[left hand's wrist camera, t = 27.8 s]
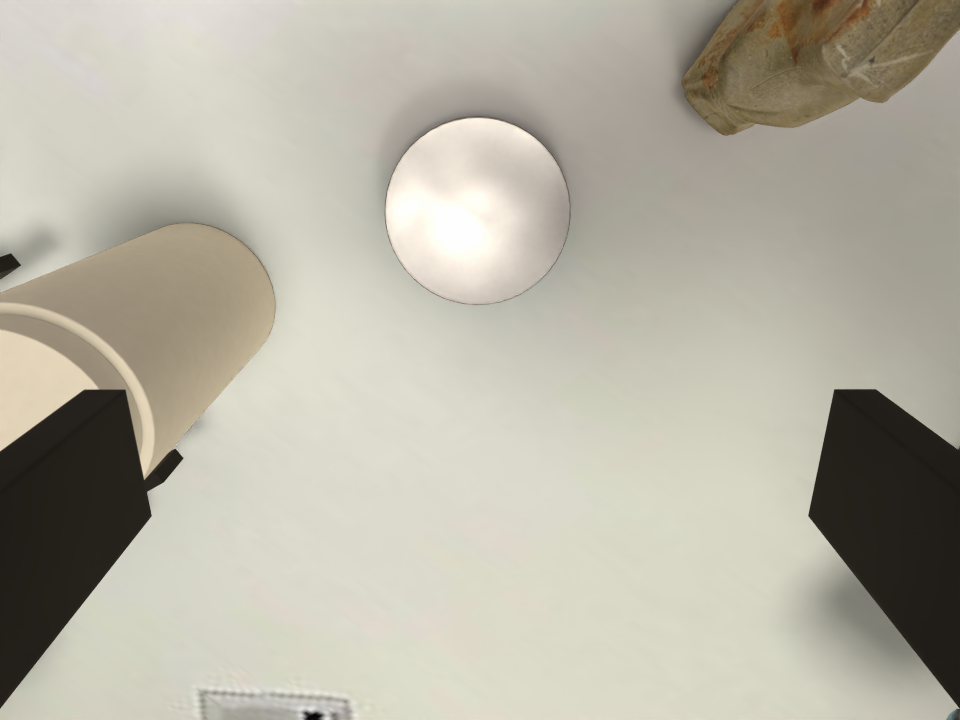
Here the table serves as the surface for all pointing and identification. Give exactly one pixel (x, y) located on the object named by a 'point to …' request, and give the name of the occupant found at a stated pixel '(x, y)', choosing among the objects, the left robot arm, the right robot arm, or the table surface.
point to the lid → (477, 210)
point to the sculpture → (812, 58)
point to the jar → (136, 332)
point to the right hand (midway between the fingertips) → (90, 370)
